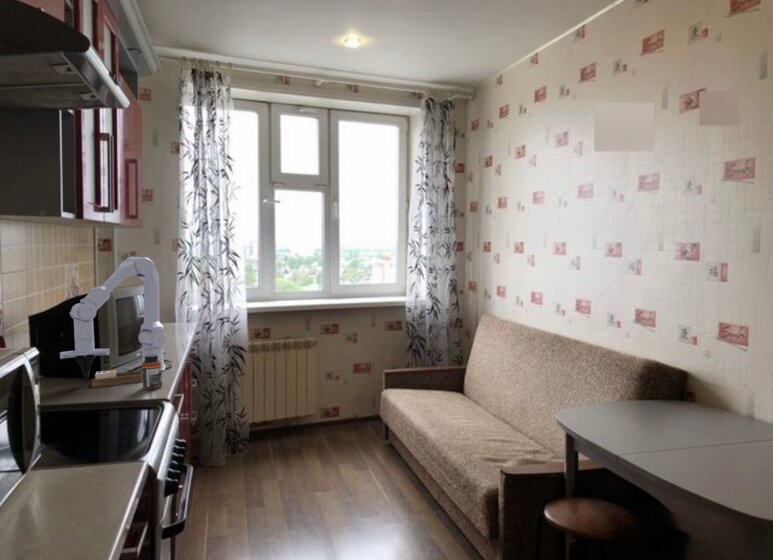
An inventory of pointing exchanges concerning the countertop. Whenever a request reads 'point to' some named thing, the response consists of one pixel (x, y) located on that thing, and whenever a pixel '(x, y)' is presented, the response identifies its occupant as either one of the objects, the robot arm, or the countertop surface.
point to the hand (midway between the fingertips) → (86, 376)
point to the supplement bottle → (151, 372)
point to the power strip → (105, 374)
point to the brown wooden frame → (119, 379)
